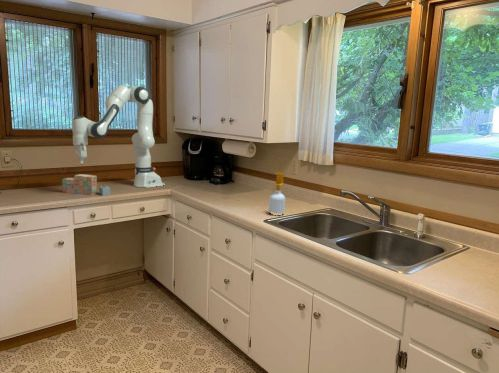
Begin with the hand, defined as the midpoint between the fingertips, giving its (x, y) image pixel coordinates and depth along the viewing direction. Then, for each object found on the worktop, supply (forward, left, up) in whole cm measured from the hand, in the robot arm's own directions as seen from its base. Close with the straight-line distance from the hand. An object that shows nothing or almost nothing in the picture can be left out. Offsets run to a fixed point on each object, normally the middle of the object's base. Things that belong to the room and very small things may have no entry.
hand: (81, 163), depth 254 cm
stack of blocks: (+2, -1, -20) cm, 20 cm away
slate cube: (-12, +9, -20) cm, 25 cm away
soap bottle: (-89, +96, -20) cm, 132 cm away
